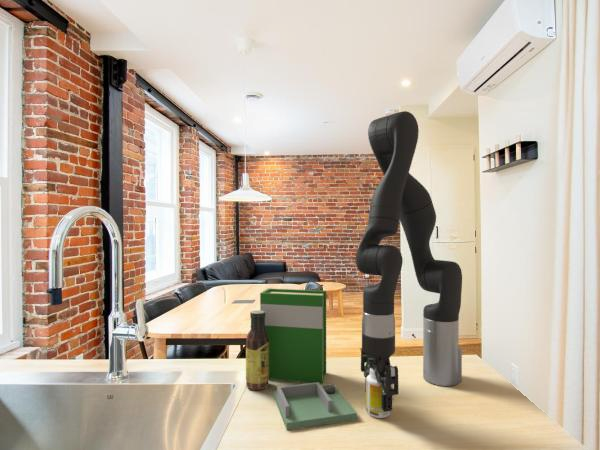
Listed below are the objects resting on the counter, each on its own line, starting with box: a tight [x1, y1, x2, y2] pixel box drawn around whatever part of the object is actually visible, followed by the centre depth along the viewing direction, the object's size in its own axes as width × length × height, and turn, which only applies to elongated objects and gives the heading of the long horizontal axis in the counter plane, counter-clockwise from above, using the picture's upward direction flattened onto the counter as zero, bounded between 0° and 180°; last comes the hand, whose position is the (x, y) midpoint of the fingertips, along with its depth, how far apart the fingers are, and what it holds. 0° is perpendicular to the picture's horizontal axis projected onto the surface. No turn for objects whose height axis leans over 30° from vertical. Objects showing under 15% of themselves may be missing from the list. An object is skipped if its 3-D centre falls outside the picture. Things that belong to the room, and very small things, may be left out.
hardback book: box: [259, 288, 327, 385], centre depth 106 cm, size 18×7×24 cm, turn 78°
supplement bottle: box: [365, 367, 392, 419], centre depth 85 cm, size 6×6×10 cm
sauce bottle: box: [245, 309, 270, 391], centre depth 99 cm, size 7×6×20 cm
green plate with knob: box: [273, 382, 358, 431], centre depth 88 cm, size 16×15×4 cm
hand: (378, 401), depth 85 cm, fingers open, 8 cm apart
